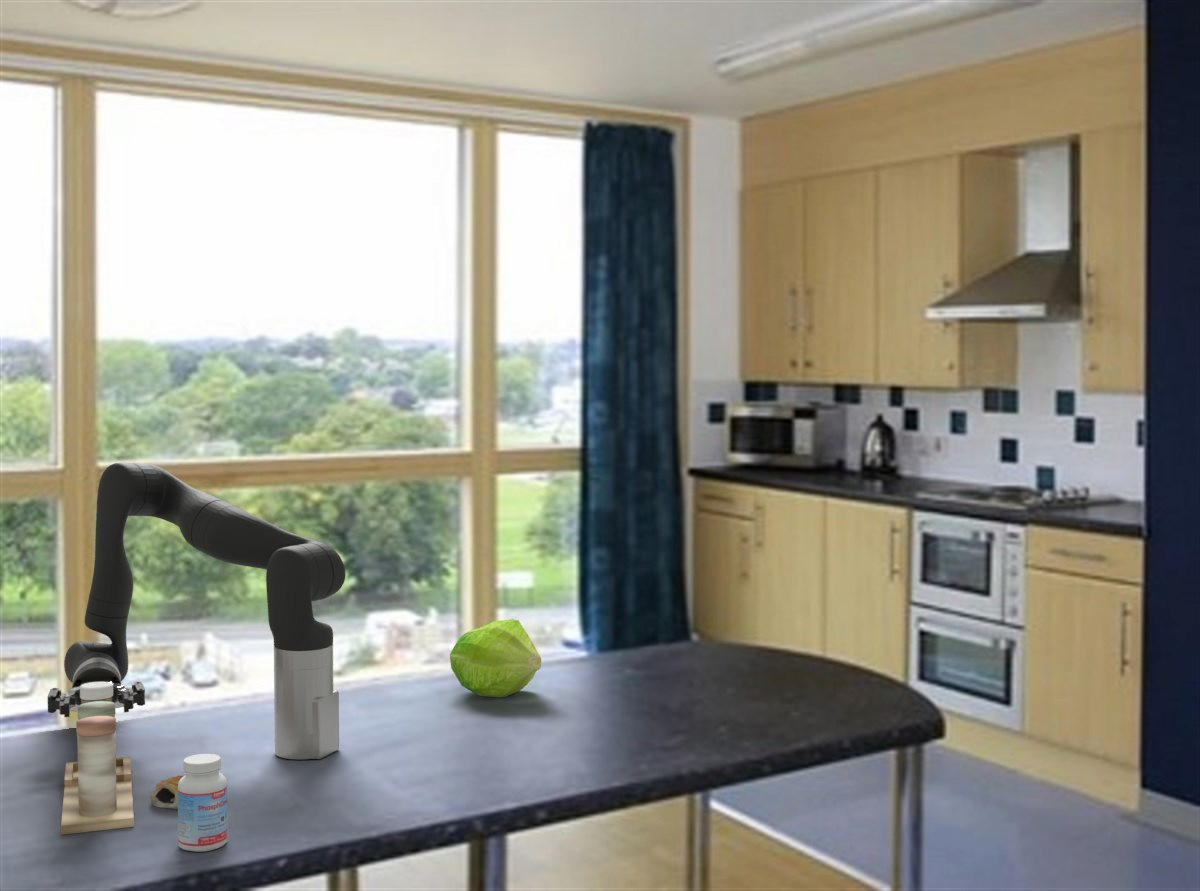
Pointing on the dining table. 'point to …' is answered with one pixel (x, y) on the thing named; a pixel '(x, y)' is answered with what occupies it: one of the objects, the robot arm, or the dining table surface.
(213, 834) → the pill bottle
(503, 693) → the lettuce
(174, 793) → the pastry
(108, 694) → the spice jar
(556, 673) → the dining table surface
